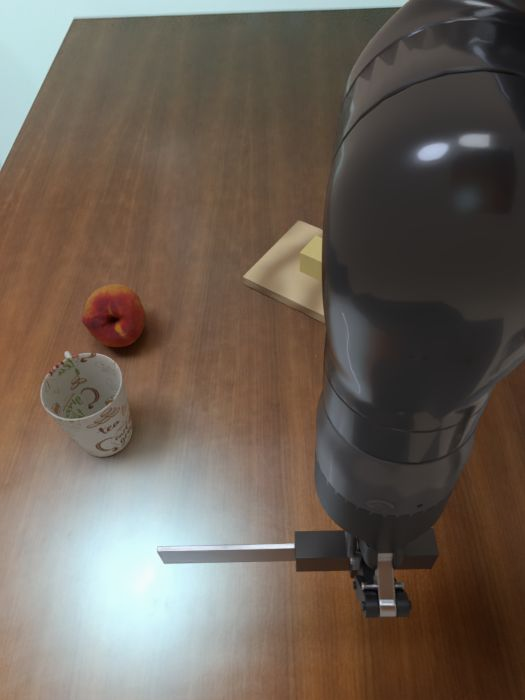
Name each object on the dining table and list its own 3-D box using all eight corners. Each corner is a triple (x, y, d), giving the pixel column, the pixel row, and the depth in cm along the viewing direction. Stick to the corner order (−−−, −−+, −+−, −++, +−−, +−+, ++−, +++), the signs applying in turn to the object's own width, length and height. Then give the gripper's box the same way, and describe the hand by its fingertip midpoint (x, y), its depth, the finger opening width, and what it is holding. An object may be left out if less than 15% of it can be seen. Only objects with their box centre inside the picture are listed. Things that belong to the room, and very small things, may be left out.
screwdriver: (427, 542, 44) (433, 527, 42) (431, 569, 43) (439, 555, 40) (165, 548, 45) (157, 534, 43) (162, 574, 44) (154, 561, 41)
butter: (352, 270, 79) (354, 251, 76) (337, 288, 77) (338, 269, 74) (315, 254, 81) (315, 235, 79) (299, 271, 79) (299, 252, 77)
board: (435, 284, 79) (437, 276, 78) (385, 353, 72) (387, 345, 71) (298, 227, 87) (298, 219, 86) (243, 284, 80) (242, 276, 79)
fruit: (83, 356, 74) (63, 315, 68) (102, 309, 79) (85, 266, 73) (142, 361, 73) (128, 320, 67) (158, 313, 78) (146, 270, 72)
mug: (87, 480, 63) (57, 434, 55) (46, 401, 70) (14, 350, 62) (155, 441, 66) (136, 392, 58) (109, 368, 73) (86, 316, 65)
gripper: (496, 580, 25) (429, 658, 39) (437, 336, 34) (399, 470, 48) (324, 583, 26) (317, 659, 39) (308, 341, 34) (307, 472, 48)
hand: (362, 555), depth 43 cm, fingers closed on screwdriver, 2 cm apart
